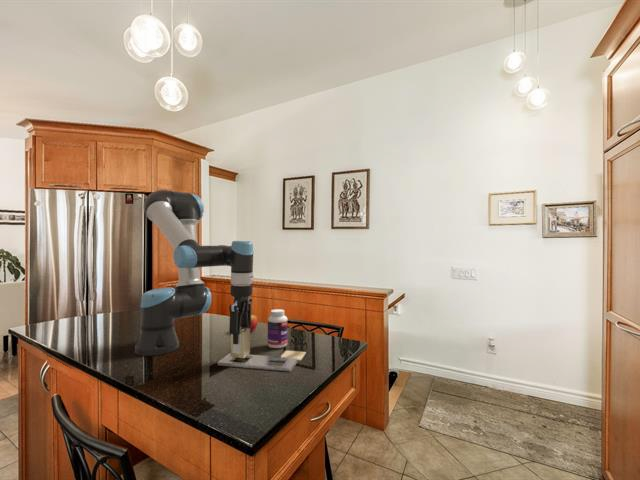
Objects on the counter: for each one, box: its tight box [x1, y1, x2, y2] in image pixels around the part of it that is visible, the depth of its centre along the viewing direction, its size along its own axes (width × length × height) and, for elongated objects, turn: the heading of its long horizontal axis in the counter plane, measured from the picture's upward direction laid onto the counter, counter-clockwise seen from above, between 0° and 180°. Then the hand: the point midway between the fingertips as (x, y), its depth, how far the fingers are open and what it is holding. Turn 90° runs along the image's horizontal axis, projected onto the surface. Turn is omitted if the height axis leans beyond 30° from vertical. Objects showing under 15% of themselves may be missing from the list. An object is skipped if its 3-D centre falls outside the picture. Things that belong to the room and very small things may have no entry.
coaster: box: [280, 350, 307, 362], centre depth 114 cm, size 8×8×1 cm
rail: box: [217, 353, 299, 373], centre depth 107 cm, size 26×9×1 cm, turn 79°
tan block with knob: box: [230, 327, 251, 359], centre depth 109 cm, size 5×5×9 cm
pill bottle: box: [267, 308, 289, 349], centre depth 125 cm, size 8×8×14 cm
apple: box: [249, 314, 259, 333], centre depth 145 cm, size 8×8×10 cm
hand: (240, 349), depth 109 cm, fingers closed on tan block with knob, 5 cm apart
